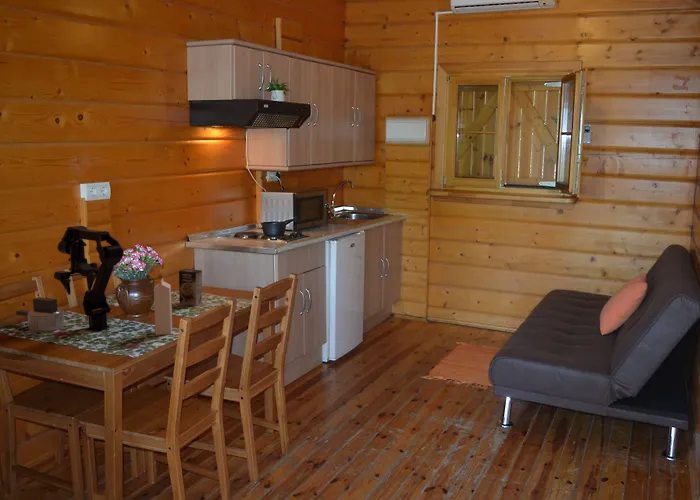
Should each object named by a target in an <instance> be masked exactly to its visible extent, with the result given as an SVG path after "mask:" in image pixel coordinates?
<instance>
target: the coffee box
mask: <svg viewBox="0 0 700 500" xmlns="http://www.w3.org/2000/svg"><path fill="white" fill-rule="evenodd" d="M178 290H179V295H178V296H179V297H178V298H179V299H178V300H179V305H182V306H183V305H184V306H191V305H192V306H194V307H197V306H199V305H202V304H203V270H202V269H201V270H200V269H192V268H191V269H189V268H185V269H181V270H179V271H178ZM201 303H202V304H201Z"/></svg>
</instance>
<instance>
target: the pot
mask: <svg viewBox="0 0 700 500" xmlns="http://www.w3.org/2000/svg"><path fill="white" fill-rule="evenodd" d="M29 311H30V310H26V309H18V310H16V311H15V314H16V315H15V316H23V317H27V326H28V330H30V331H32V332H41V333H42V332H49V331H52V332H53V331H56V330H58V329H62V328H64V326H65V316H64V315H65V314H64V312H63V313H61V314H58V315H55V316H49V317H31V316H29V315H28V312H29Z"/></svg>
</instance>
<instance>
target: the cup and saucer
mask: <svg viewBox="0 0 700 500" xmlns="http://www.w3.org/2000/svg"><path fill="white" fill-rule="evenodd" d="M32 303H33V304H32V305H33V307H32V309H30V310H28V311H29V312H28V315H29V316H31V317H49V316H55V315H58V314H61V313H64V308H63V307H58V299H57V298H49V297H40V296H38V297H36V298H33V299H32Z"/></svg>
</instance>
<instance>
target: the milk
mask: <svg viewBox="0 0 700 500" xmlns="http://www.w3.org/2000/svg"><path fill="white" fill-rule="evenodd" d="M160 280H161V281H160V282H158V283H157V284H156V285H154V288H153V297H154V298H153V302H154V324H155V325H154V328H155V329H154V330H155V336H156V335H171V334H172V333H173V332H172V331H173V311H172V308H173V307H172V286H171V284H169V283H168V282H166V281H164V277H162V278H161V279H160Z"/></svg>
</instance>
